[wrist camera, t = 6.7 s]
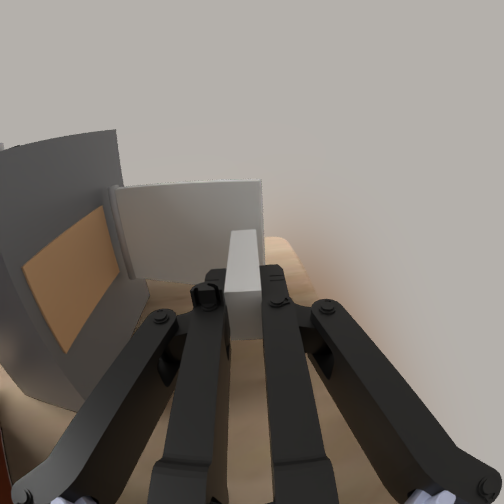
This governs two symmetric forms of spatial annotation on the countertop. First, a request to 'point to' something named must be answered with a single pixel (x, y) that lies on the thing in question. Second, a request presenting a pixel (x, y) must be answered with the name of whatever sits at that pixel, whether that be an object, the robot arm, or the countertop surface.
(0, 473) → the red printed tin
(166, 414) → the countertop surface
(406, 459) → the robot arm
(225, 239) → the side door
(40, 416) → the countertop surface
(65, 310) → the box
